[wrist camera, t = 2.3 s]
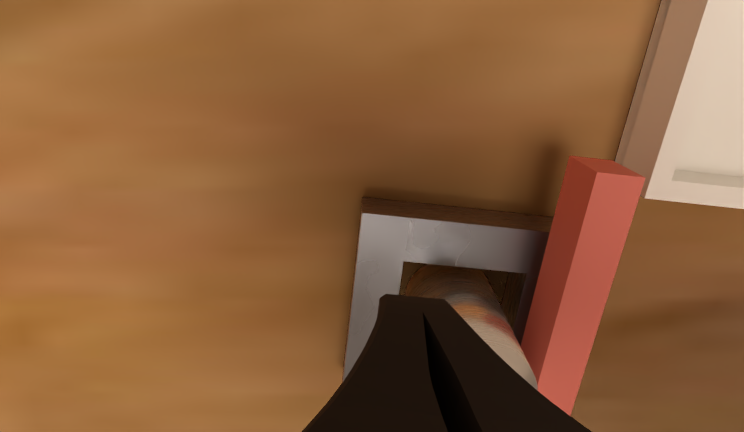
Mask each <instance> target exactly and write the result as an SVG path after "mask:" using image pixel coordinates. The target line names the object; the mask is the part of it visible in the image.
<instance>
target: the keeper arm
mask: <svg viewBox="0 0 744 432" xmlns="http://www.w3.org/2000/svg"><path fill="white" fill-rule="evenodd" d="M644 181H645V177H643V176H642V175H640V174H638V173H636V172H634V171H632V170H630V169H628V168H626V167H624V166H622V165H620V164H618V163H616V162H614V161H613V160H604V159H595V158H586V157H577V156H569V160H568V164H567V168H566V172H565V175H564V179H563V183H562V187H561V191H560V195H559V199H558V203H557V207H556V210H555V214H554V218H553V222H552V226H551V230H550V234H549V238H548V242H547V245H546V249H545V253H544V257H543V261H542V265H541V269H540V273H539V277H538V280H537V284H536V288H535V292H534V296H533V300H532V304H531V308H530V311H529V315H528V319H527V323H526V327H525V331H524V335H523V339H522V343H521V346H520V347H521V349H522V351H523V353H524V355H525V357H526V359H527V361H528V363H529V365H530V367H531V369H532V371H533V373H534V375H535V378H536V381H537V387H538V391H539V392H540V393H541V394H542V395H543V396H545V397H546V398H547V399H548V400H550V401H551V402H552V403H554V404H555V405H556V406H558V407H559V408H560V409H561V410H563V411H564V412H565V413H567V414H568V415H569V416H570V415H571V412H572V409H573V406H574V403H575V399H576V396H577V393H578V390H579V387H580V384H581V380H582V377H583V374H584V371H585V368H586V365H587V361H588V358H589V355H590V352H591V349H592V346H593V342H594V339H595V336H596V333H597V330H598V327H599V324H600V320H601V317H602V314H603V311H604V308H605V305H606V301H607V298H608V295H609V292H610V289H611V286H612V282H613V279H614V276H615V273H616V270H617V267H618V263H619V260H620V257H621V254H622V251H623V248H624V245H625V241H626V238H627V235H628V232H629V229H630V226H631V222H632V219H633V216H634V213H635V210H636V207H637V203H638V200H639V197H640V194H641V191H642V188H643V184H644Z"/></svg>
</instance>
